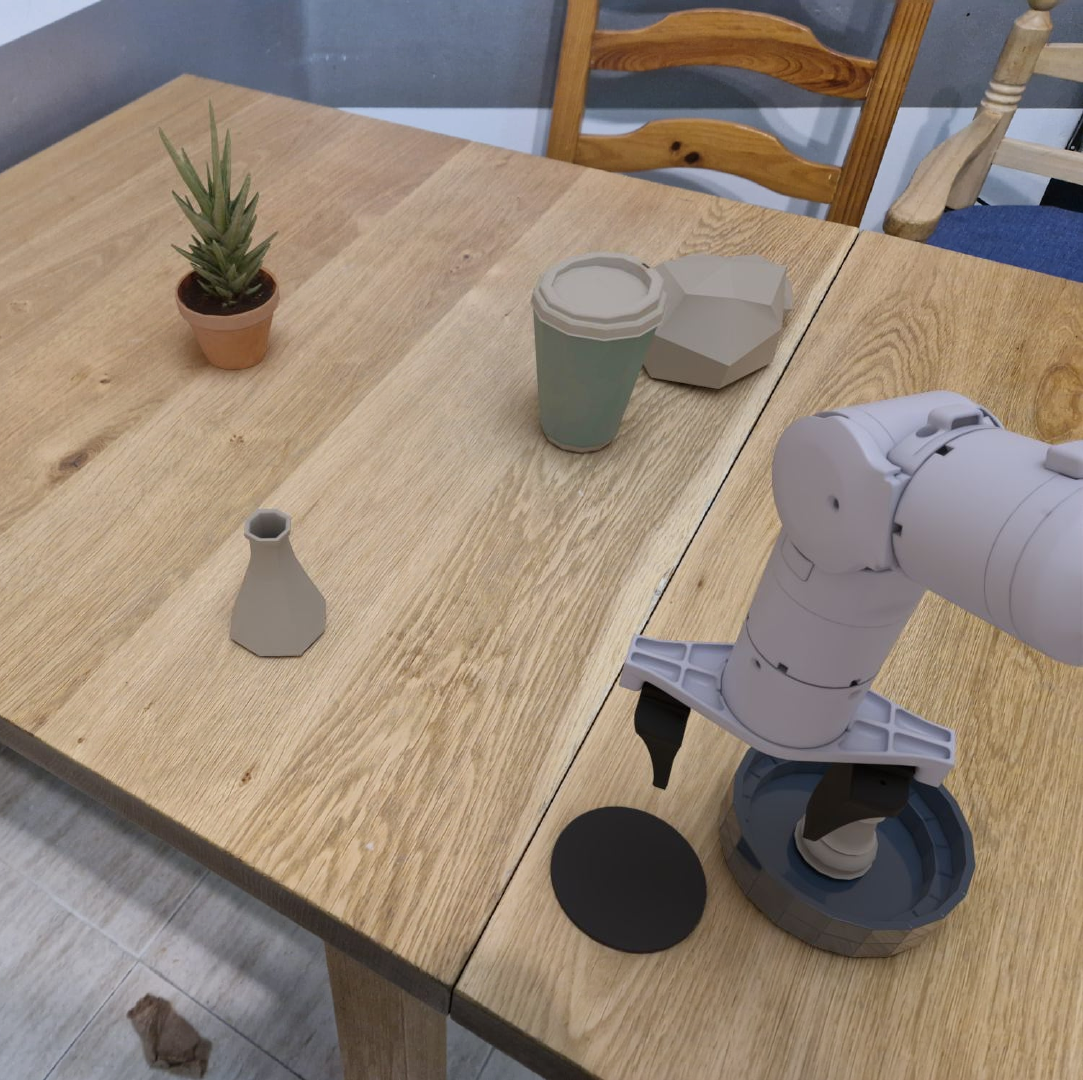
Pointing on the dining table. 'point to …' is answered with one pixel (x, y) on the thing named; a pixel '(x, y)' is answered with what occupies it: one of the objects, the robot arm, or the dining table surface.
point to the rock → (718, 318)
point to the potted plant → (224, 265)
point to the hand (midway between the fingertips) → (735, 797)
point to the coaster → (628, 879)
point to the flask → (275, 592)
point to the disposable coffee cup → (592, 343)
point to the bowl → (840, 904)
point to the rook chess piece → (841, 849)
